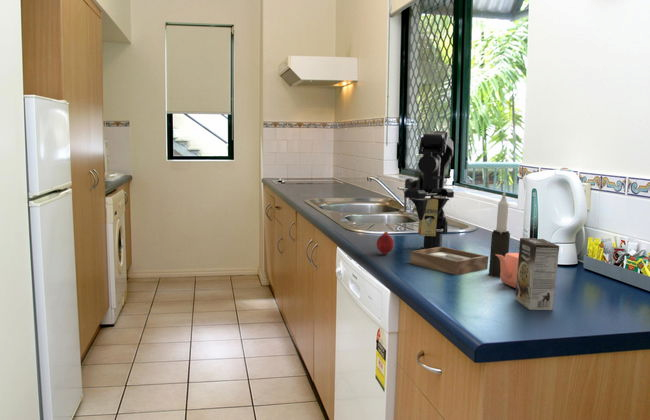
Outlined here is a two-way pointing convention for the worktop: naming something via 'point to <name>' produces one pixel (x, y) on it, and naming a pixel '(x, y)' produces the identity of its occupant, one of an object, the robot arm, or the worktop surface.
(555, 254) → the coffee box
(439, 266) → the walnut crate with socket plate
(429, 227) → the shoe polish box
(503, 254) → the candle
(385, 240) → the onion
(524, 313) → the worktop surface
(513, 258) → the teapot
